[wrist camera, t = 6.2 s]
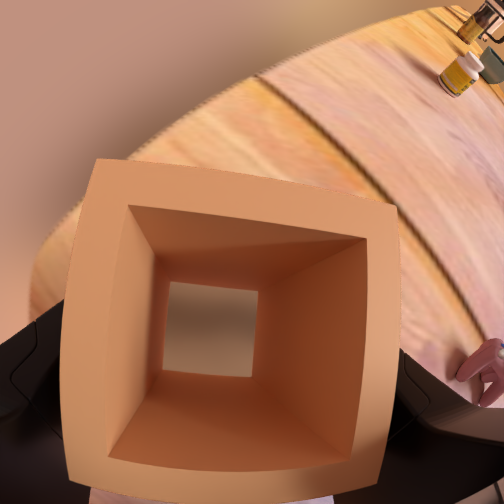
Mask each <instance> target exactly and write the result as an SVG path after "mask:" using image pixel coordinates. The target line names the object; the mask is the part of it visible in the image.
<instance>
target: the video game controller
mask: <svg viewBox="0 0 504 504" xmlns="http://www.w3.org/2000/svg"><path fill="white" fill-rule="evenodd" d="M490 366H491V367H490ZM477 372H478V373H480V372H481V380H482V382H484V383H489V382H493V383H492V384H491V385H490V386H489V387H488V389H487V390H486V391H485V392H484V394H483V395H482V397H481V399H480V402H479V404H480V406H481V407H487V406H489V405H491V404H492V403H494V402H495V401H496V400H497V399H498V398H499V397H500V396H501V395H502V394H503V393H504V343H503V341H502V340H500V339H497V338H494V339H490V340H487V341H486V342H484V343H483V344H482V345H481V346H480V348H479V349H478V350H477V351H475V352H474V353H473V354H472V355H471V356H470V357H469V358H468V359H467V360H466V361H465V362H464V363H463V364H462V365H461V367H460V368H459V370H458V372H457V374H456V379H457V381H459V382H463V381H466V380H468V379H470V378H471V377H472V376H474V375H475V374H476V373H477Z"/></svg>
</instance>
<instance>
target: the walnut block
mask: <svg viewBox="0 0 504 504" xmlns="http://www.w3.org/2000/svg"><path fill="white" fill-rule="evenodd" d="M257 299H258V291H250V290H241V289H231V288H222V287H213V286H204V285H196V284H187V283H179V282H171V283H170V291H169V300H168V310H167V320H166V331H165V343H164V357H163V369H164V370H172V371H180V372H189V373H199V374H210V375H223V376H240V377H251V376H252V364H253V351H254V338H255V326H256V313H257Z"/></svg>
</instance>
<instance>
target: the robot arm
mask: <svg viewBox="0 0 504 504" xmlns="http://www.w3.org/2000/svg"><path fill="white" fill-rule="evenodd" d="M63 308H64V299H63V300H62V301H61V302H59V303H58V304H56V305H55V306H54V307H52V308H51V309H49V310H48V311H47V312H45V313H44V314H42V315H41V316H40V317H38V318H37V319H36V322H35V321H33V322H31V323H30V324H29V325H27V326H26V327H25V328H24V329H22V330H21V331H20V332H18V333H17V334H15V335H14V336H12V337H11V338H10V339H8V340H7V341H5V342H4V343H2V344H1V345H0V504H89V497H90V490H91V487H90V486H86V485H83V484H80V483H77V482H74V481H71V480H69V474H68V469H67V463H66V456H65V449H64V441H63V432H62V420H61V405H60V346H61V329H62V317H63ZM333 499H334V504H504V408H485V407H480V406H477V405H474V404H472V403H470V402H469V401H467V400H466V399H464V398H463V397H462V396H460V395H459V394H458V393H456V392H455V391H454V390H452V389H451V388H450V387H448V386H447V385H445V384H444V383H443V382H441V381H440V380H439V379H437V378H436V377H435V376H433V375H432V374H431V373H429V372H428V371H427V370H426V369H424V368H423V367H422V366H421V365H420V364H418V363H417V362H416V361H415V360H413V359H412V358H411V357H410V356H409V355H408V354H407V353H404V351H403V350H402V349H401V348H399V361H398V372H397V381H396V389H395V397H394V404H393V410H392V417H391V422H390V428H389V433H388V438H387V443H386V448H385V452H384V457H383V461H382V465H381V469H380V473H379V477H378V480H377V484H374V485H371V486H367V487H363V488H360V489H356V490H352V491H348V492H344V493H340V494H335V495H333Z"/></svg>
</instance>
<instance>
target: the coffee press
mask: <svg viewBox="0 0 504 504" xmlns="http://www.w3.org/2000/svg"><path fill="white" fill-rule="evenodd" d="M486 4H487V5H489V6H490V7H491V8H492V9H493V10H494V11H495V12H496V13H495V14H494V15H493V16H492V17H491V18H490V19H489V25H488V26H487V27H486V28H485V30H484V31H483V32H482V33H481V34H480V35H479V36H478V38H479V39H481V38H483V40H484V39H485V42H486V41H487V38H488V37H490V38H491V39H492V40H493V41H494V42H495V43H498V44H500V43H503V42H504V36H503V37H502V38H501V39H500V40H495V39H494V38H493V37H492V36H491V34H492V33H493V32H494V31H495V30H496V29H497V28H498V27H499V26H500V25H501V24H502V23H503V22H504V0H502V1H501V0H485V2H484V3H483V4H482V5H481V7H480V8H479V9H478V10H477V11H476V12H475V13H477V12H479V11H481V10H482V9H483V8H484V7H485V5H486ZM465 22H466V21H464V23H465Z"/></svg>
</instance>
